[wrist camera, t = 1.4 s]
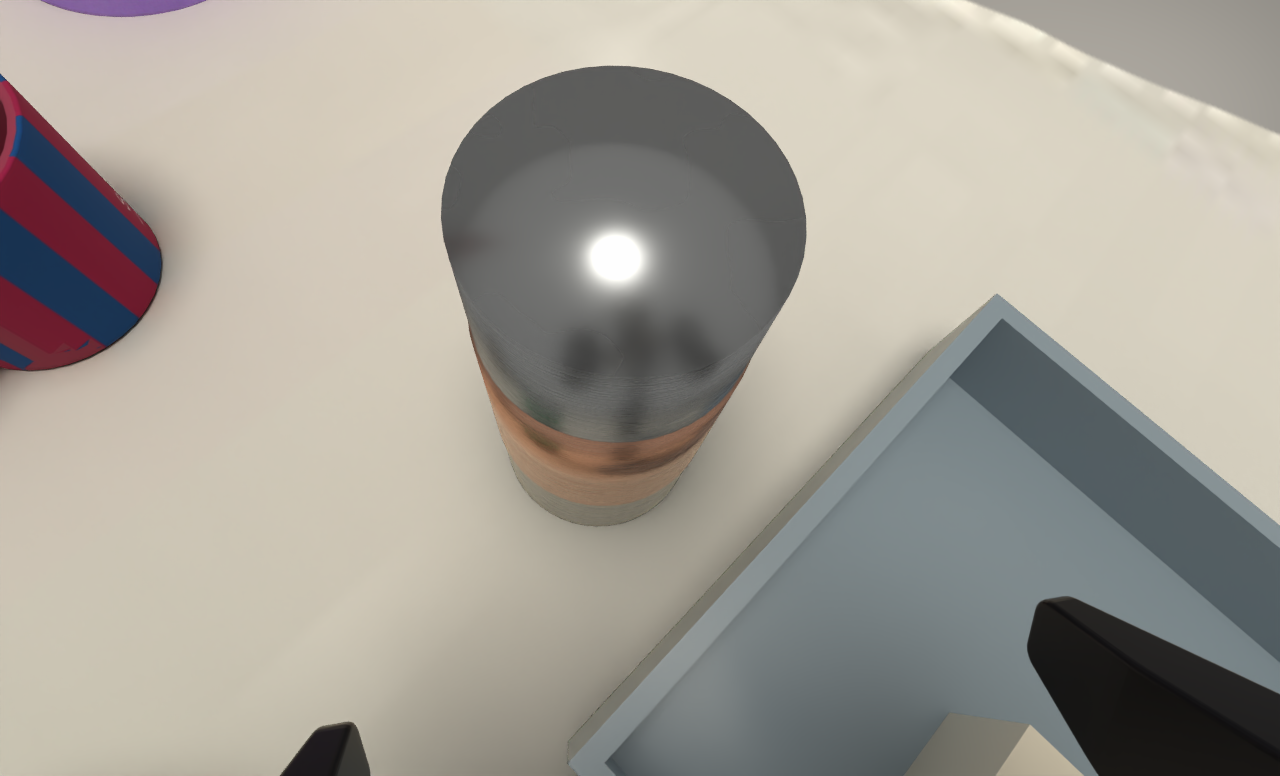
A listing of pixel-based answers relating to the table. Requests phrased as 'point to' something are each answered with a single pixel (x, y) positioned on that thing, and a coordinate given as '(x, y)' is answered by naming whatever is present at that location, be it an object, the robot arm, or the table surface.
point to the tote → (947, 575)
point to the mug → (63, 248)
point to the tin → (617, 275)
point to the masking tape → (122, 6)
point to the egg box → (988, 750)
